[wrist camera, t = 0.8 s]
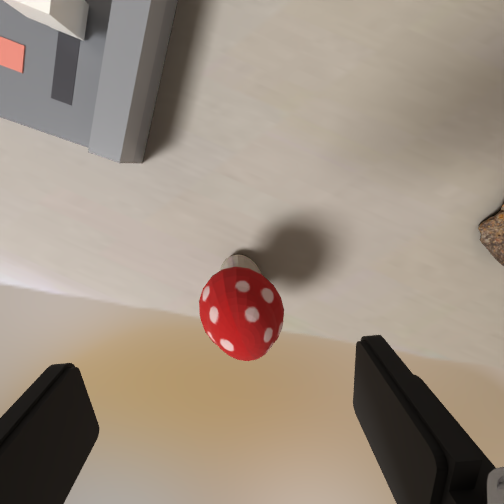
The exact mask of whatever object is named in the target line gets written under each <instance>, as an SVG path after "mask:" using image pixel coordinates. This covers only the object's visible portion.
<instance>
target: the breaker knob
mask: <svg viewBox="0 0 504 504" xmlns="http://www.w3.org/2000/svg"><path fill="white" fill-rule="evenodd" d="M3 1H4V2H6V3H7V4H9V5H10V6H12V7H13V8H14V9H16V10H17V11H19V12H20V13H22V14H23V15H25V16H26V17H28V18H30V19H33V20H35V21H38V22H40V23H43V24H45V25H48V26H49V27H51V28H53V29H55V30H58V31H60V32H63V33H65V34H68V35H70V36H73V37H75V38H78V39H80V40H83V41H84V38H85V31H86V24H87V17H88V9H89V4H88V3H87V2H86V1H85V0H3Z"/></svg>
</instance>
